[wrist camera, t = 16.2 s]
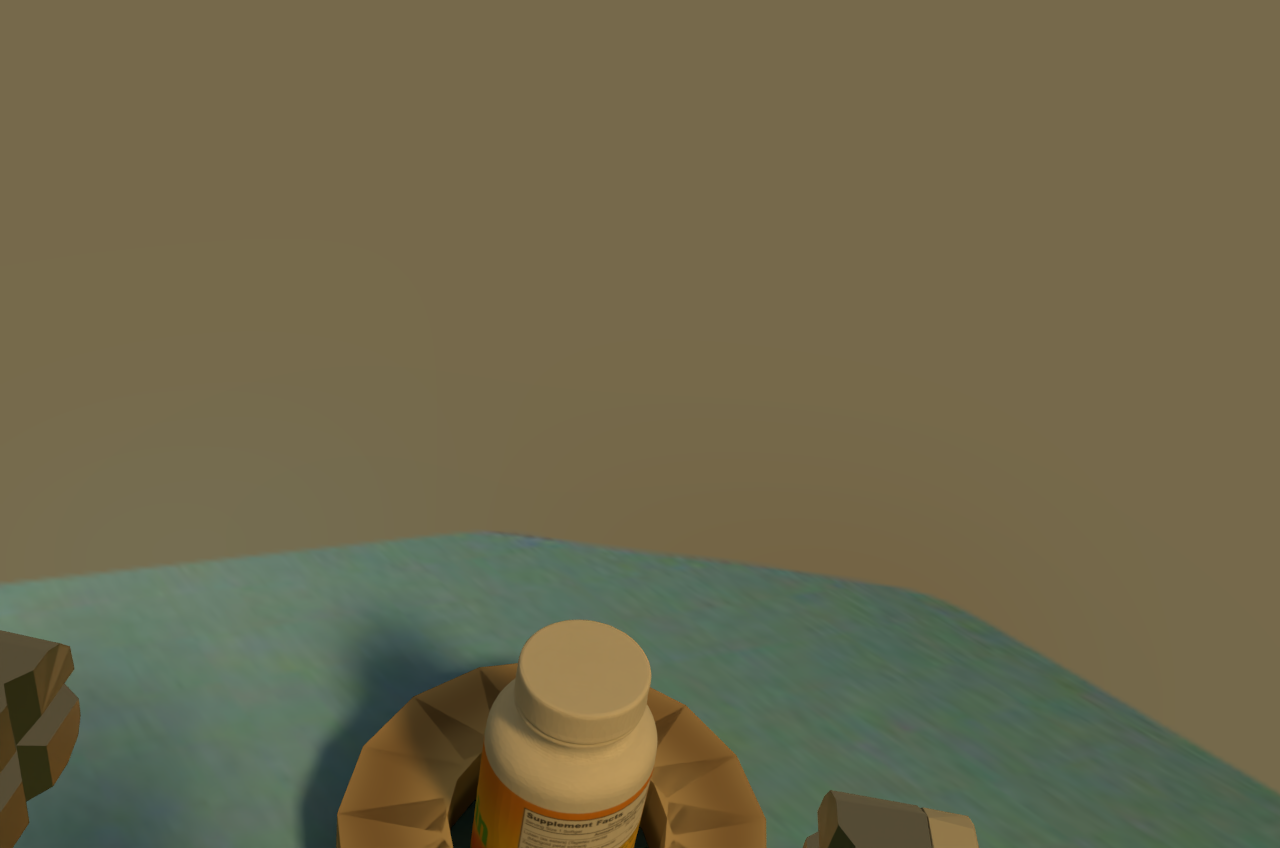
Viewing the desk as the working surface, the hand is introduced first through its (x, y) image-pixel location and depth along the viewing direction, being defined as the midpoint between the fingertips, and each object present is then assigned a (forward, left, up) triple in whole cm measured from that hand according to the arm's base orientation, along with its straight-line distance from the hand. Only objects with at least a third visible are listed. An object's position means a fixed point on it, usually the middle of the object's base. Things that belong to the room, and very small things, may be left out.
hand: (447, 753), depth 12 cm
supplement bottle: (+1, +16, -24) cm, 29 cm away
